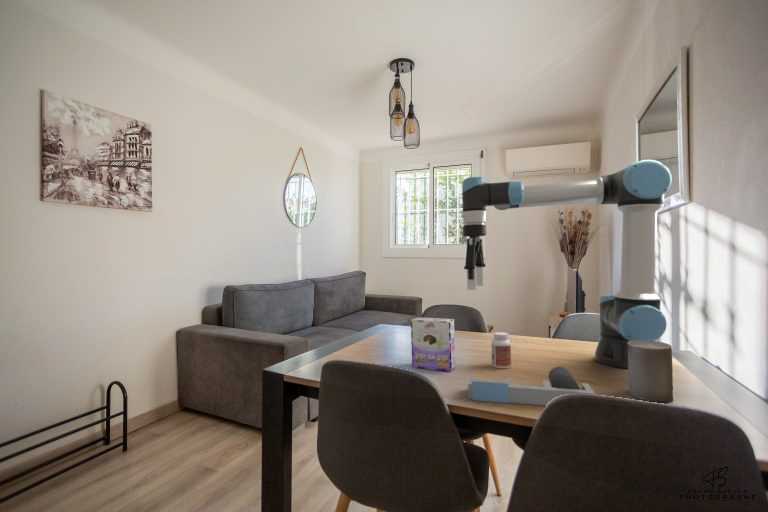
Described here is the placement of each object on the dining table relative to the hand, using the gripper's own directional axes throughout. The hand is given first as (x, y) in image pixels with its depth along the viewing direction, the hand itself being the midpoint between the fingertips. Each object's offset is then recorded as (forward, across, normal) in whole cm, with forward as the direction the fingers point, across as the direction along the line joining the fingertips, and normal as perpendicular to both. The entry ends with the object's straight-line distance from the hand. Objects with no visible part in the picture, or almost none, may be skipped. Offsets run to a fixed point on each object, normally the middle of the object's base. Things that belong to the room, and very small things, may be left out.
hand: (475, 287), depth 127 cm
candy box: (+27, +6, -14) cm, 31 cm away
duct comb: (+27, +23, +17) cm, 39 cm away
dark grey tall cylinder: (+27, +17, +26) cm, 41 cm away
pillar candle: (+27, +9, +47) cm, 55 cm away
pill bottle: (+27, -3, +7) cm, 28 cm away
